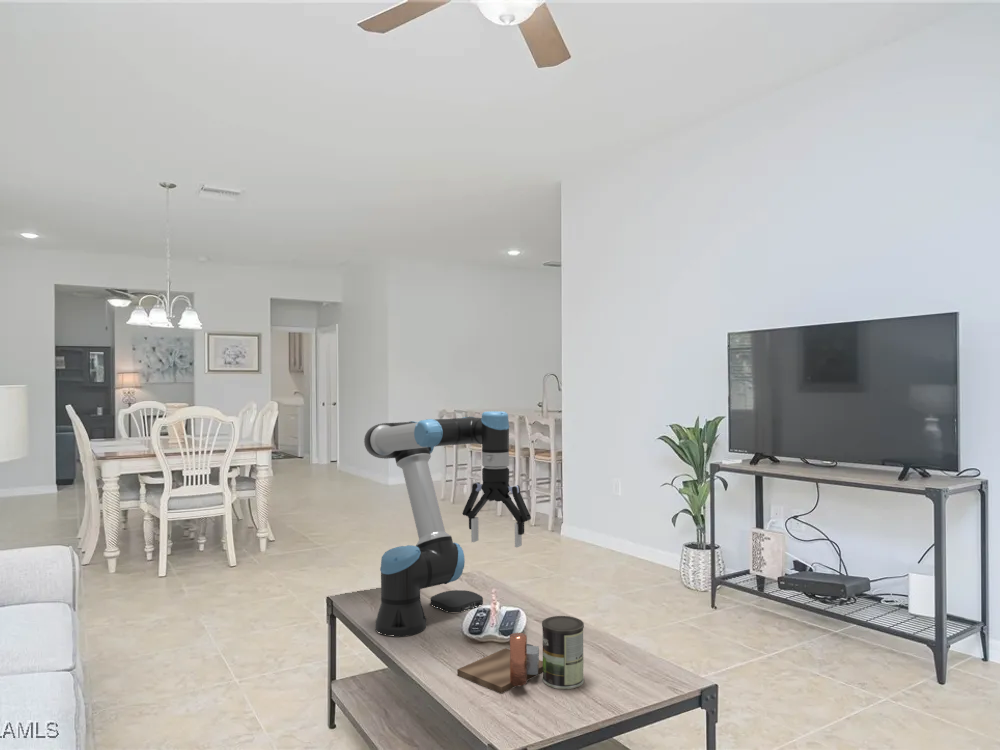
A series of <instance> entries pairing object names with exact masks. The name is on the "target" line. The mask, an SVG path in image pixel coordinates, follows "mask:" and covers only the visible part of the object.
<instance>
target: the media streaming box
mask: <svg viewBox="0 0 1000 750" xmlns="http://www.w3.org/2000/svg"><path fill="white" fill-rule="evenodd" d="M482 604H484V598H483V596H482V595H480V594H478V593H477V592H473V591H470V590H463V589H462V590H460V589H459V590H457V589H456V590H452V589H451V590H446V591H443V592H439V593H436V594H435V595H433V596H431V597H430V606H431V605H433V606H435V607H438V608H441V609H443V610H445V611H448V612H447V613H449V612H460V613H462V612H461V611H464V610H467V609H470V610H472V609H471V608H473V607H475V606H479V605H482ZM433 606H432V607H433ZM482 606H483V605H482ZM435 607H434V608H435ZM438 608H437V609H438ZM443 610H442V611H443ZM445 611H444V612H445ZM467 611H468V610H467ZM464 612H465V611H464Z"/></svg>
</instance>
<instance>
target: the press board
mask: <svg viewBox="0 0 1000 750" xmlns="http://www.w3.org/2000/svg"><path fill="white" fill-rule="evenodd" d="M456 672H457V674H456V675H457V676H459V677H461V678H463V679H465V680H468V681H470V682H473V683H475V684H478V685H480V686H482V687H484V688H487V689H490V690H492V691H494V692H497V693H499V694H503V693H506V692H508V691H509V690H511V689H513V688H515V687H517V686H514V685H512V684H511V683H510V648H507V647H505V648H501V649H500V650H497V651H495V652H494V653H493V652H492V653H491V654H488V655H486V656H484V657H482V658H480V659H478V660H475V661H473V662H471V663H469V664H466V665H465V666H462V667H459V668H457V671H456ZM541 674H543V660H541V659H539V669H538V675H530V674H527V681H529V680H530V679H533V678H535V677H536V676H539V675H541Z"/></svg>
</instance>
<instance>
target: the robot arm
mask: <svg viewBox="0 0 1000 750" xmlns="http://www.w3.org/2000/svg"><path fill="white" fill-rule="evenodd" d="M509 422H510V421H509V413H507V411H500V410H499V411H498V410H497V411H495V410H494V411H493V410H492V411H491V410H490V411H483V412H482V413H481V417H476V416H475V417H474V416H465V417H459V418H458V417H456V418H454V417H453V418H436V419H435V418H428V419H422V420H419V421H411V420H410V421H406V422H405V421H403V422H402V421H401V422H383V423H378V424H375V425H373V426H371V427H370V428H369V429H368V430H367V431H366V433H365V435H364V439H363V440H364V441H363V443H364V448H365V450H366V451H367V452H368V453H369V454H370V455H372V457H375V458H376V459H377V458H378V459H384V460H385V459H395V463H396V466H397V467H399V469H401V470H402V473H403V478H404V482H405V486H406V490H407V494H408V498H409V503H410V506H411V511H412V514H413V515H412V516H413V519H414V520H413V521H414V524H415V527H416V531H417V532H416V533H417V536H418V541H417V542H416V545H413V544H412V545H409V544H408V545H405V546H404V545H400V546H397V547H396V546H395V547H393V548H391V549H388V550H386V551H385V552H384V553H383V555H382V556H381V559H380V560H381V561H380V562H381V563H380V568H379V569H380V593H381V594H380V597H381V598H380V600H381V601H380V605H379V610H378V613H377V616H376V619H375V628H376V629H375V628H374V629H375V631H376V630H377V631H378V632H380V633H382V634H386V635H394V636H399V637H407V636H406V635H409V636H413V635H417V634H419V633H421V632H423V631H424V630H426V628H427V617H426V615H425V611H424V608H423V604H422V602H421V590H422V589H427V588H431V587H435V586H441V585H443V584H444V585H448V584H449V583H452V582H455V581H457V580H459V579H460V578H461V576H462V575H463V571H464V570H465V563H466V562H465V561H466V559H465V552H464V550H463V548H462V547H461V545H460V544H459V543H457V542H453V538H452V535H450V534H449V533H447V532H446V530H445V526H444V521H443V518H442V514H441V509H440V506H439V502H438V498H437V493H436V490H435V486H434V482H433V478H432V474H431V469H430V466H429V461H430V460H431V457H432V455H431V454H432V453H433V452H434V451H433V450H434V448H435V447H444V446H446V447H447V446H455V445H471V444H472V445H473V444H478V445H481V455H482V456H481V458H482V459H481V462H482V463H481V464H482V466H483V468H482V470H481V480H482V483H480V482H475V483H472V485H471V492H470V495H469V497H468V499H467V501H466V504H465V506H464V508H463V510H462V512H461V513H462V516H466V517H467V518H468V528H469V530H471V532H470V533H471V535H470V537H471V543H475V542H477V541H479V517H477V515H478V514H479V512H480V511H481V510H482V509H483V508H484V506H485V505H486V504H487V502H488V501H490V502H493V501H494V502H502V504H504V506H506V508H507V509H508V510H509V513H510V514H511V515H512V517H513V518H514V519H515V521H516V522H515V523H514V548H519V547H521V546H522V540H523V539H522V536H523V535H524V534H525V522H527V521H530V520H531V519H532V517H531V514H530V512H529V510H528V507H527V505H526V503H525V500H524V499H523V496H522V493H521V487H520V485H513V486H511V485H510V468H509V466H510V423H509ZM480 491H482V492H483V495H481V497H480V499H479V500H478V502H477V503H476V500H477V499H478V496H479V494H480ZM510 493H511V495H512V497H513V499H514V501H513V500H512V497H511V496H510V495H509V494H510ZM514 502H515V503H514ZM474 505H475V506H474ZM377 631H376V632H377ZM378 632H377V633H378ZM382 634H381V635H382ZM386 635H385V636H386ZM394 636H393V637H394Z"/></svg>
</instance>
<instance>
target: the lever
mask: <svg viewBox="0 0 1000 750" xmlns="http://www.w3.org/2000/svg"><path fill="white" fill-rule="evenodd" d="M527 637H528V635H527V634H525V633H524V632H513V633H511V634H510V635H509V649H510V683H511V684H512V685H514V686H516V687H522V686H525V685H527V684H528V680H527V674H530V675H537V676H539V675H538V669H539V660H540V646H539V645H538V646H537V645H533V644H530V643H528V642H527V640H528V639H527Z"/></svg>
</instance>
